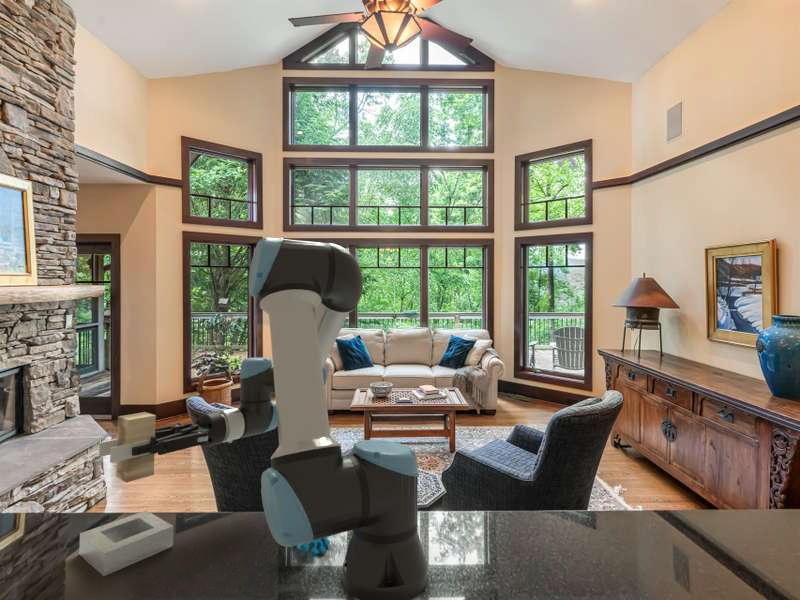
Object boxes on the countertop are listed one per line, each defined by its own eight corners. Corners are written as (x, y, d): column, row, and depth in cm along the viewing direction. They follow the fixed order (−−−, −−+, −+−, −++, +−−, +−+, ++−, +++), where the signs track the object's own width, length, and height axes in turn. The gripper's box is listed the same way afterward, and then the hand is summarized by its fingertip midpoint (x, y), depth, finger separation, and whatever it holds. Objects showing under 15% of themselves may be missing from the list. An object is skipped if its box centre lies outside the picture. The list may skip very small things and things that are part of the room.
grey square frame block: (172, 546, 83) (173, 526, 83) (103, 576, 73) (104, 553, 74) (145, 529, 90) (146, 510, 90) (79, 554, 80) (79, 533, 80)
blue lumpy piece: (312, 559, 76) (284, 511, 80) (291, 579, 77) (264, 531, 80) (342, 539, 86) (316, 497, 90) (323, 556, 87) (298, 514, 90)
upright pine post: (153, 474, 84) (155, 415, 84) (126, 482, 80) (128, 420, 80) (143, 469, 87) (145, 412, 87) (116, 476, 83) (118, 416, 83)
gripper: (240, 450, 93) (123, 483, 74) (199, 436, 103) (87, 462, 85) (241, 416, 93) (124, 440, 74) (200, 406, 104) (89, 425, 85)
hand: (105, 452), depth 79 cm, fingers closed on upright pine post, 5 cm apart
